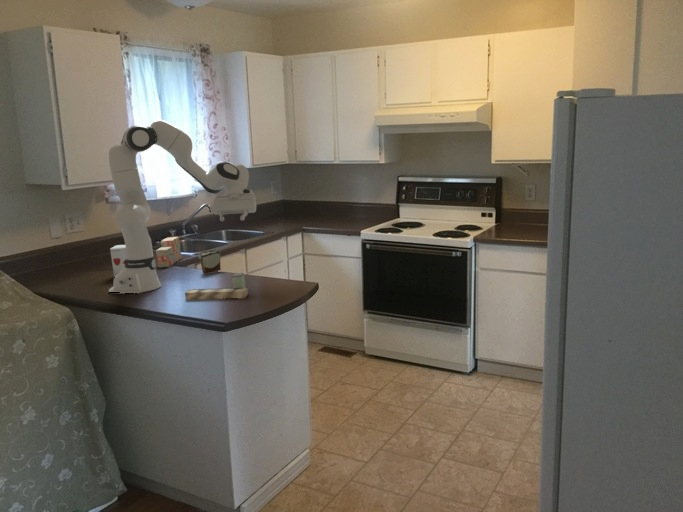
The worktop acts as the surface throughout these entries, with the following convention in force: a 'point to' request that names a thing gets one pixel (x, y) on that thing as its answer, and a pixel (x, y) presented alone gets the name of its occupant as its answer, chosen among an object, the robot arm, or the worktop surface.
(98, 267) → the worktop surface
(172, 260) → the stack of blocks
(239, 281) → the post
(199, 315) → the worktop surface
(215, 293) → the maple plank
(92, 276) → the worktop surface
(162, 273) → the worktop surface
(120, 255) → the supplement box
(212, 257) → the food container
